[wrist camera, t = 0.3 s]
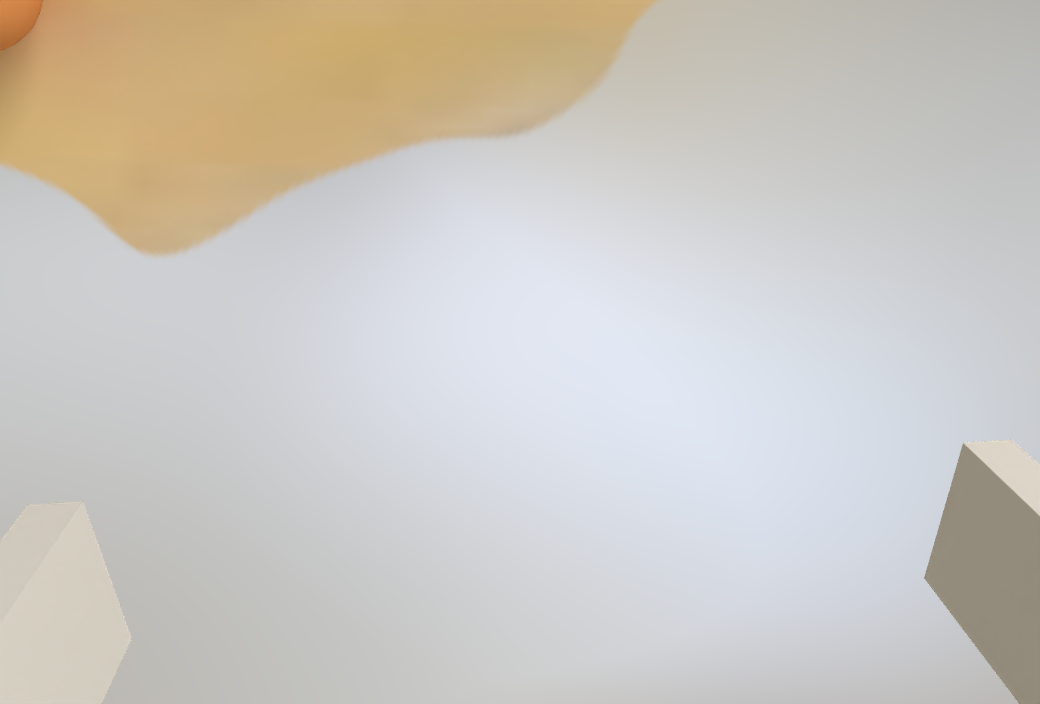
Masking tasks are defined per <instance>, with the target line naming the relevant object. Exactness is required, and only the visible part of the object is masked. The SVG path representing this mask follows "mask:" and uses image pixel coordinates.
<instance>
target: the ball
mask: <svg viewBox="0 0 1040 704" xmlns="http://www.w3.org/2000/svg"><path fill="white" fill-rule="evenodd" d="M42 1H43V0H0V50H3V49H6V48H8V47H10V46H12V45H14V44H16V43H17V42H18V41H20V40H21V39H22V38H23V37H25V36H26V34H27V33H28V32H29V31H30V30H31V29H32V27H33V26H34V24H35V23H36V20H37V18H38V16H39V14H40V10H41V7H42Z"/></svg>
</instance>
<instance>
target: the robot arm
mask: <svg viewBox="0 0 1040 704" xmlns="http://www.w3.org/2000/svg"><path fill="white" fill-rule="evenodd" d="M924 578H925V579H926V581H927V582H928V584H929V585H930V586H931V588H932V589H933V590H934V592H935V593H936V594H937V596H938V597H939V598H940V600H941V601H942V602H943V603H944V605H945V606H946V607H947V609H948V610H949V611H950V613H951V614H952V615H953V617H954V618H955V619H956V621H957V622H958V623H959V625H960V626H961V627H962V629H963V630H964V631H965V633H966V634H967V635H968V637H969V638H970V639H971V640H972V642H973V643H974V644H975V646H976V647H977V648H978V650H979V651H980V652H981V654H982V655H983V656H984V658H985V659H986V660H987V662H988V663H989V664H990V665H991V667H992V668H993V670H994V671H995V672H996V674H997V675H998V676H999V677H1000V679H1001V680H1002V681H1003V683H1004V684H1005V685H1006V687H1007V688H1008V689H1009V690H1010V692H1011V693H1012V695H1013V696H1014V697H1015V699H1016V700H1017V701H1018V703H1019V704H1040V464H1038V463H1037V462H1036V461H1035V460H1034V459H1033V458H1032V457H1030V456H1029V455H1028V454H1027V453H1026V452H1025V451H1024V450H1022V449H1021V448H1020V447H1019V446H1018V445H1017V444H1015V443H1014V442H1013V441H1012V440H999V441H984V442H969V443H963V445H962V449H961V453H960V456H959V459H958V463H957V466H956V470H955V473H954V477H953V480H952V484H951V487H950V491H949V494H948V497H947V501H946V504H945V508H944V511H943V515H942V518H941V522H940V525H939V529H938V532H937V536H936V539H935V543H934V546H933V550H932V553H931V556H930V560H929V563H928V567H927V570H926V574H925V577H924ZM131 640H132V638H131V635H130V632H129V630H128V627H127V624H126V621H125V618H124V616H123V613H122V610H121V607H120V605H119V601H118V599H117V596H116V593H115V590H114V587H113V585H112V582H111V579H110V576H109V573H108V570H107V568H106V565H105V562H104V559H103V556H102V554H101V551H100V548H99V545H98V542H97V539H96V537H95V534H94V531H93V528H92V525H91V522H90V520H89V517H88V514H87V511H86V508H85V506H84V503H83V501H79V502H63V503H48V504H33V505H27V507H26V508H25V509H24V511H23V512H22V513H21V514H20V516H19V517H18V518H17V520H16V521H15V522H14V524H13V525H12V526H11V527H10V529H9V530H8V531H7V533H6V534H5V535H4V537H3V538H2V539H1V541H0V704H102V702H103V699H104V697H105V695H106V693H107V691H108V689H109V687H110V684H111V682H112V680H113V678H114V676H115V674H116V672H117V670H118V667H119V665H120V663H121V661H122V659H123V657H124V655H125V652H126V650H127V648H128V646H129V644H130V642H131Z"/></svg>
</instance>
